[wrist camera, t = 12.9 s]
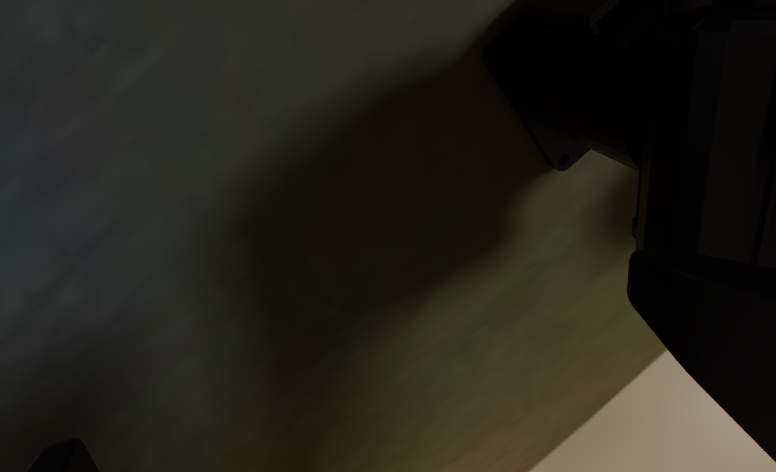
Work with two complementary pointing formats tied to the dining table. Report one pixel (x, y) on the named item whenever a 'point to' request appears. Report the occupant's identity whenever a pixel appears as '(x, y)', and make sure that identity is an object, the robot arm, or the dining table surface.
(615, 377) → the dining table surface
